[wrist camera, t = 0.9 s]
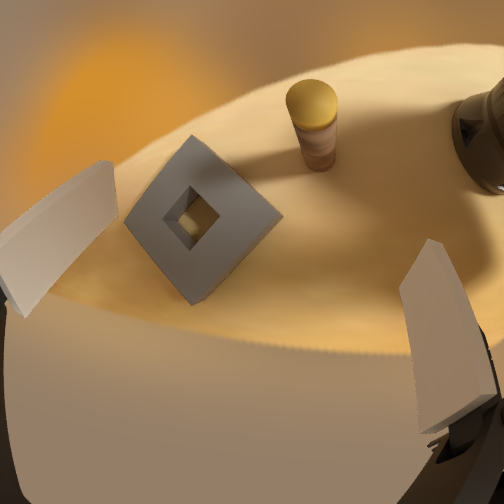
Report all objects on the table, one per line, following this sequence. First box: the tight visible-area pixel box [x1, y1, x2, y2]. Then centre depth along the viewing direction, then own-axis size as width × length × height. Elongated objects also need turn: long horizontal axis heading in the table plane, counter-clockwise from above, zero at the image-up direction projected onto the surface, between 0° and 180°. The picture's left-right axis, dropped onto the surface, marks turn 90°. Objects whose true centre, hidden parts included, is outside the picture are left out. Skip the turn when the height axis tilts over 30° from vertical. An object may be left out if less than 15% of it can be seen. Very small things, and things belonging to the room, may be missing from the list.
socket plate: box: [124, 135, 283, 306], centre depth 37 cm, size 16×16×4 cm
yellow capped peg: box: [286, 79, 337, 172], centre depth 26 cm, size 4×4×16 cm
